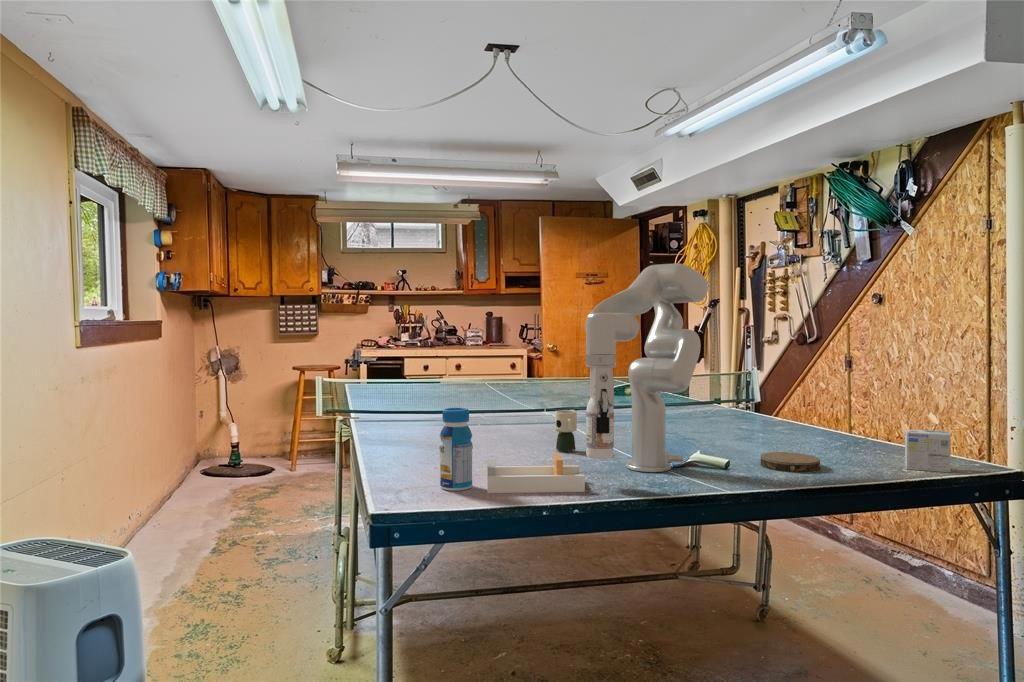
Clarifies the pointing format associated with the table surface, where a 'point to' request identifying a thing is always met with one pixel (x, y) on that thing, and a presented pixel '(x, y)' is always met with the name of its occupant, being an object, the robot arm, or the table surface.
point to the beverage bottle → (455, 450)
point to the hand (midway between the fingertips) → (600, 430)
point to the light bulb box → (927, 450)
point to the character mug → (565, 429)
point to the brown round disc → (790, 462)
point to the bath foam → (598, 434)
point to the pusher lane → (533, 479)
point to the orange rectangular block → (558, 464)
